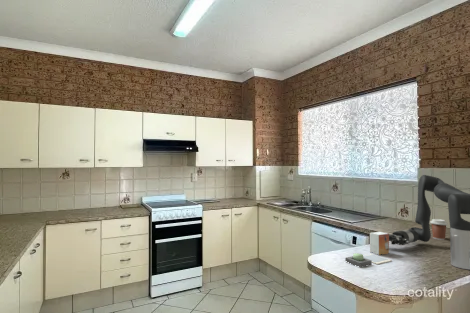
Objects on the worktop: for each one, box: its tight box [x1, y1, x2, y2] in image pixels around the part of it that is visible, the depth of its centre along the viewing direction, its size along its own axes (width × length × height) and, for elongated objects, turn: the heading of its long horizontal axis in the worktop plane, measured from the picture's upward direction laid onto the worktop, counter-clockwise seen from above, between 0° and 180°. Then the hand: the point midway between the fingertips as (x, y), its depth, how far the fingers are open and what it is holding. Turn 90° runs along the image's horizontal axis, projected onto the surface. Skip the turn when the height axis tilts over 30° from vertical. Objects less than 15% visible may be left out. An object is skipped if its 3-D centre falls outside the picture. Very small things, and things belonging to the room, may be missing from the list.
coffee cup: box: [429, 218, 449, 241], centre depth 177 cm, size 9×9×12 cm
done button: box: [352, 252, 364, 261], centre depth 129 cm, size 4×4×2 cm
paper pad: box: [363, 253, 393, 266], centre depth 134 cm, size 11×11×1 cm
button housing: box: [344, 255, 373, 268], centre depth 129 cm, size 8×8×2 cm
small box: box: [369, 231, 390, 256], centre depth 145 cm, size 8×6×10 cm
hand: (384, 240), depth 147 cm, fingers open, 8 cm apart
